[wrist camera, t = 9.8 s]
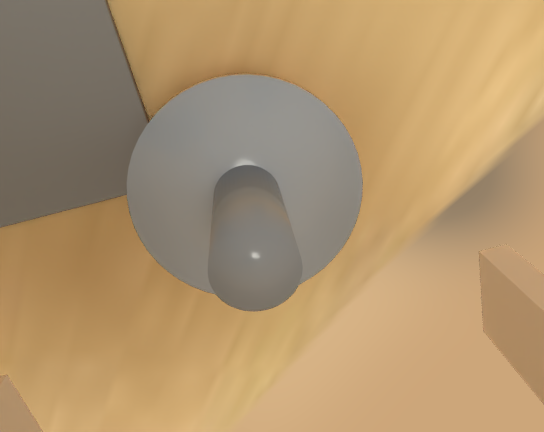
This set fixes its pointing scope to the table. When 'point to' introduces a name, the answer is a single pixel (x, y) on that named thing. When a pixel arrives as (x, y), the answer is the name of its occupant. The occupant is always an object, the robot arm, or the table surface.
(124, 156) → the mat
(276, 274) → the lid
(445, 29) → the table surface
